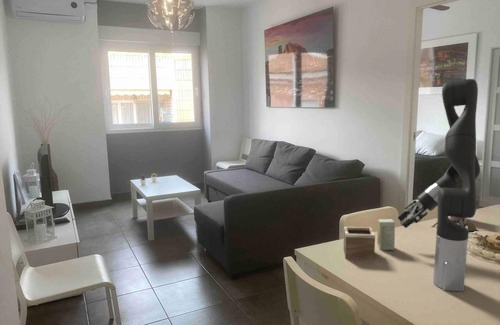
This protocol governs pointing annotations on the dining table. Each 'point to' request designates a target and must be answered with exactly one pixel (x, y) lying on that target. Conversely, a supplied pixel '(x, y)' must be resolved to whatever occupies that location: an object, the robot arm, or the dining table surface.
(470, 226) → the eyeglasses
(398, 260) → the dining table surface
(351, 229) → the slot box
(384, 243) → the skincare box
